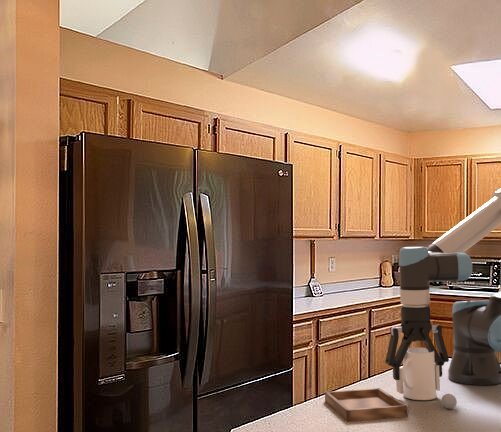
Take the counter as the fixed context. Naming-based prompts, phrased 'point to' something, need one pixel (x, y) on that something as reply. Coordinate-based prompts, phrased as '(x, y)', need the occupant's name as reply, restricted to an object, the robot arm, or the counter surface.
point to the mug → (419, 374)
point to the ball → (449, 401)
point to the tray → (365, 404)
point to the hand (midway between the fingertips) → (418, 390)
